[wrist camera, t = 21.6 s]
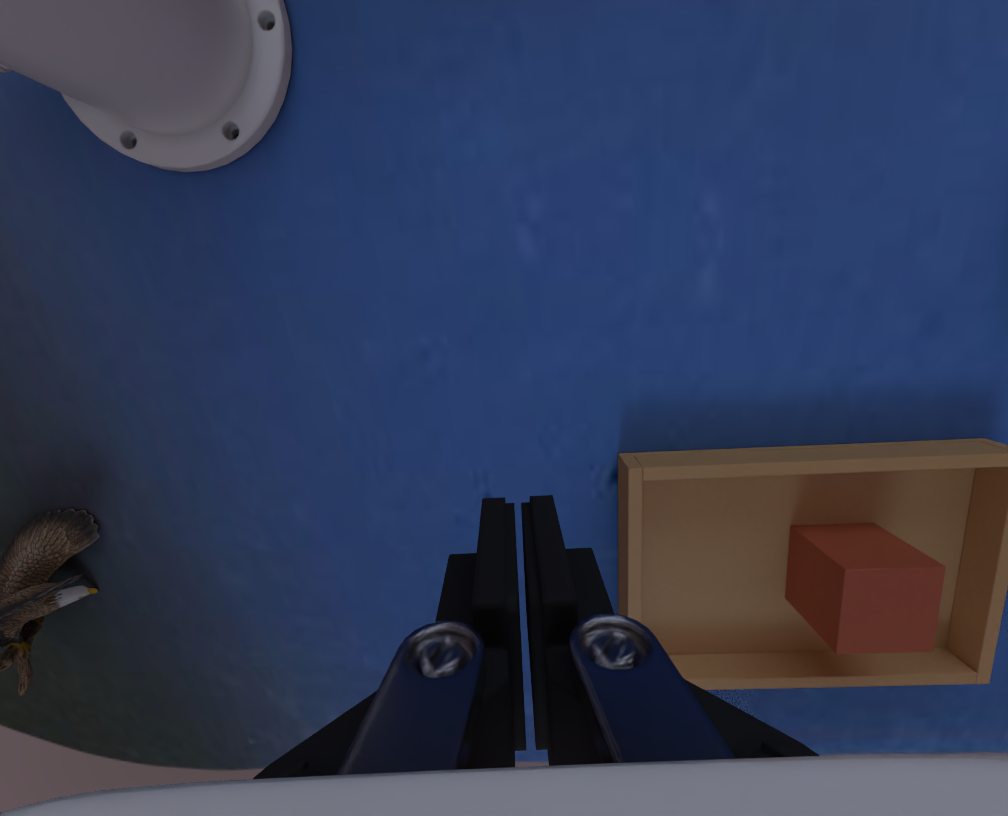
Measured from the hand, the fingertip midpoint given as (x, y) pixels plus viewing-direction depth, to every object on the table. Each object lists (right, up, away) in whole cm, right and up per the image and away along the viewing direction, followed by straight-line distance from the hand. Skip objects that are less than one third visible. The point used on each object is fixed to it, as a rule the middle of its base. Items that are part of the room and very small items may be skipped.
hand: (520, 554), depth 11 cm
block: (+20, -6, +18) cm, 28 cm away
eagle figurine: (-29, -7, +21) cm, 37 cm away
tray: (+18, -6, +19) cm, 27 cm away
